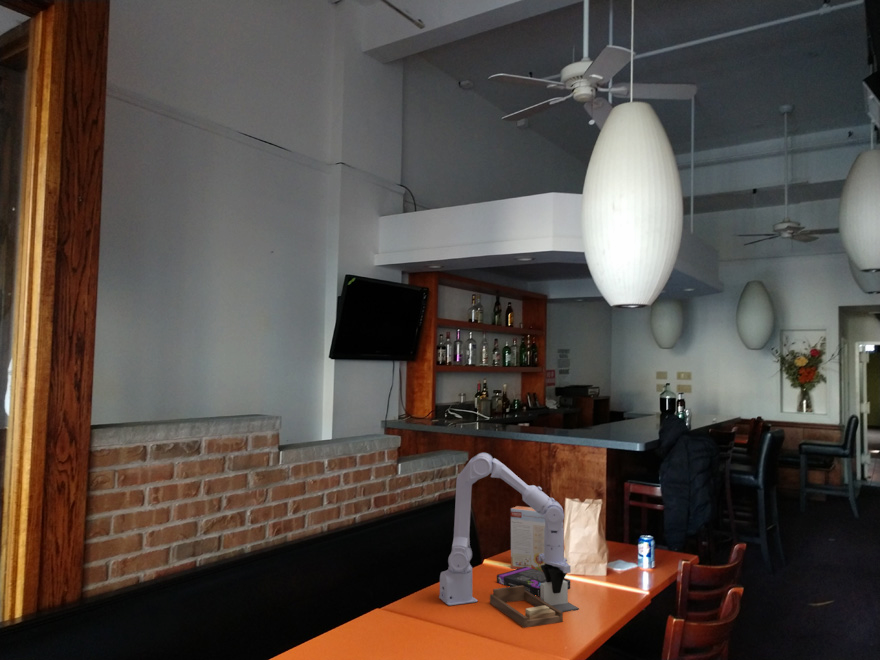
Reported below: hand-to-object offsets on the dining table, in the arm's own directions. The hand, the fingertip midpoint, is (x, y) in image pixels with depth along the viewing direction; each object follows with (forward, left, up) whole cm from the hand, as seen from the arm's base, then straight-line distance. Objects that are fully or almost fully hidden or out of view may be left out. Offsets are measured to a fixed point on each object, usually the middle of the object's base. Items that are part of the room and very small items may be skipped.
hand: (554, 591), depth 197 cm
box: (+3, +18, -5) cm, 19 cm away
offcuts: (-11, -10, -4) cm, 16 cm away
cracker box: (+12, +34, -4) cm, 36 cm away
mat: (0, 0, -4) cm, 4 cm away
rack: (-11, -1, -4) cm, 12 cm away
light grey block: (0, 0, -3) cm, 3 cm away
